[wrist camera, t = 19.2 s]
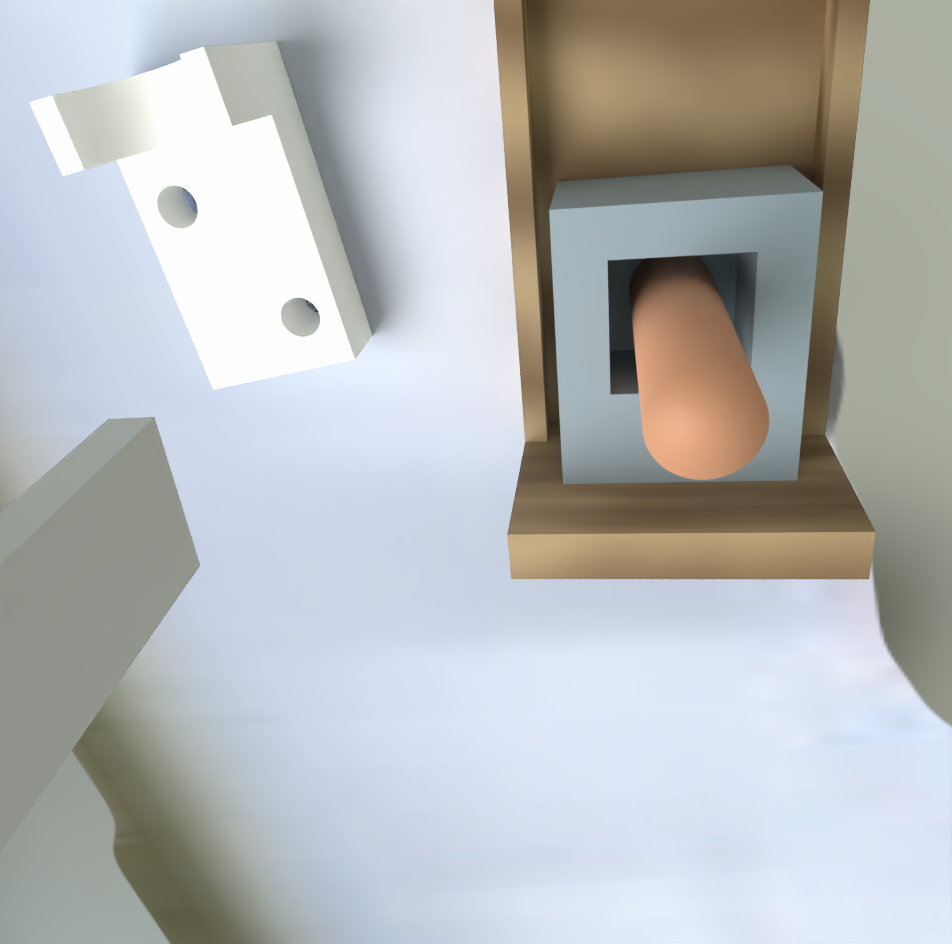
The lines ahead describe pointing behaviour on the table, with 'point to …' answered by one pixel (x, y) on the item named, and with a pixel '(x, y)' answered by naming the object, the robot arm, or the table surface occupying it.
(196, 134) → the bracket
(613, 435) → the block
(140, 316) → the table surface
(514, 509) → the tray
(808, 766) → the table surface
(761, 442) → the dowel
